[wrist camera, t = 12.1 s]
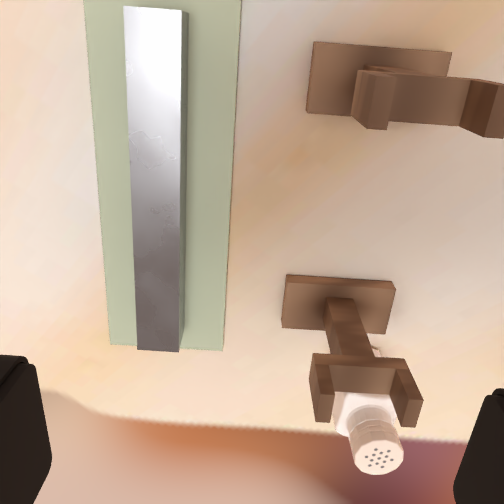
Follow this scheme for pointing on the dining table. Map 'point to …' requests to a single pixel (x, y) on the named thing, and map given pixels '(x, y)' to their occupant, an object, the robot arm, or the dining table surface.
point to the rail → (158, 169)
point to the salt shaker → (369, 429)
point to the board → (198, 161)
